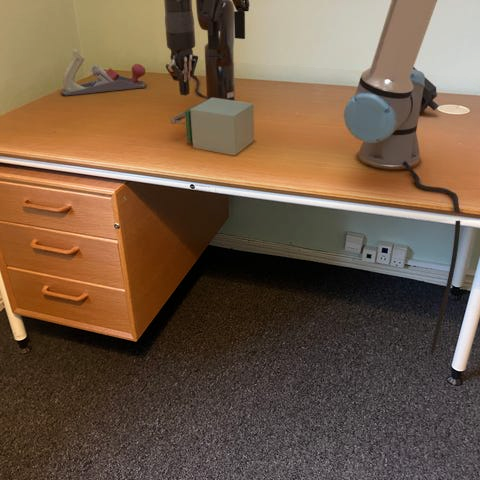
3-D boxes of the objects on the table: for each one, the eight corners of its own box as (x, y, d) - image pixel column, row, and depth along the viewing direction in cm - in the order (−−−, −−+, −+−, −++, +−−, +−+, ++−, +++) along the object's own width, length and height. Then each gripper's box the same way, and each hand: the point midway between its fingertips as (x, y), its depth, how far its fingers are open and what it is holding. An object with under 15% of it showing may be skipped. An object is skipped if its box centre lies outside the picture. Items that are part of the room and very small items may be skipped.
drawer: (169, 138, 151) (166, 108, 147) (188, 127, 159) (186, 97, 154) (224, 149, 144) (222, 117, 139) (241, 136, 152) (241, 105, 147)
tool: (376, 92, 179) (403, 55, 168) (419, 129, 175) (449, 94, 164) (367, 96, 175) (394, 59, 164) (411, 135, 171) (441, 99, 160)
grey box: (192, 147, 148) (190, 109, 142) (213, 134, 157) (211, 97, 151) (234, 155, 143) (233, 116, 137) (253, 141, 151) (253, 103, 146)
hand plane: (62, 90, 197) (53, 48, 189) (145, 82, 205) (140, 41, 197) (62, 96, 191) (54, 53, 184) (148, 87, 199) (143, 45, 191)
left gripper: (181, 23, 145) (186, 86, 154) (153, 32, 135) (160, 99, 144) (205, 25, 142) (208, 89, 151) (178, 34, 132) (183, 103, 141)
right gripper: (236, -56, 134) (237, 33, 145) (181, -49, 115) (188, 52, 127) (262, -56, 131) (262, 35, 142) (211, -48, 112) (215, 55, 124)
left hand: (184, 94), depth 148 cm, fingers closed
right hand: (227, 43), depth 134 cm, fingers open, 13 cm apart
